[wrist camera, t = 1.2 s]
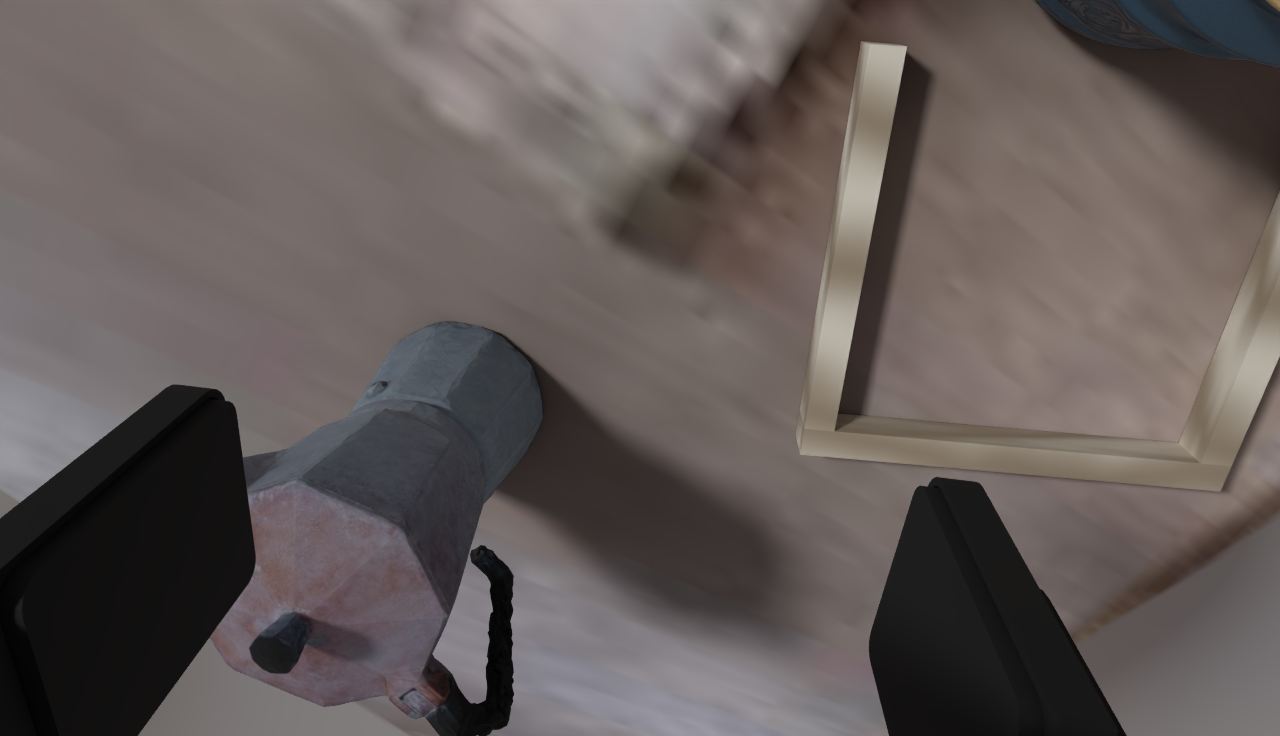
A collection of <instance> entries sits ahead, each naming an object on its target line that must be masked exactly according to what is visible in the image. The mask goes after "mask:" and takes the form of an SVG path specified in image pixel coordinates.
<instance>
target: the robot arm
mask: <svg viewBox="0 0 1280 736" xmlns="http://www.w3.org/2000/svg"><path fill="white" fill-rule="evenodd" d="M255 564H256V553H255V545H254V538H253V531H252V523H251V516H250V509H249V501H248V494H247V486H246V479H245V472H244V464H243V457H242V450H241V442H240V435H239V428H238V420H237V413H236V409H235V407H234V405H233V403H231V402H229V401H225V399H224V396H223V395H222V393H221V392H220V391H218V390H217V389H210V388H201V387H193V386H185V385H171V386H169V387H167V388H166V389H164V390H163V391H162V392H160V393H159V394H158V395H157V396H155V397H154V398H153V399H152V400H150V401H149V402H148V403H146V404H145V405H144V406H143V407H141V408H140V409H139V410H138V411H136V412H135V413H134V414H132V415H131V416H130V417H129V418H127V419H126V420H125V421H124V422H122V423H121V424H120V425H118V426H117V427H116V428H115V429H113V430H112V431H111V432H110V433H108V434H107V435H106V436H105V437H103V438H102V439H101V440H99V441H98V442H97V443H96V444H94V445H93V446H92V447H91V448H89V449H88V450H87V451H85V452H84V453H83V454H82V455H80V456H79V457H78V458H77V459H75V460H74V461H73V462H71V463H70V464H69V465H68V466H66V467H65V468H64V469H63V470H61V471H60V472H59V473H57V474H56V475H55V476H54V477H52V478H51V479H50V480H49V481H47V482H46V483H45V484H43V485H42V486H41V487H40V488H38V489H37V490H36V491H35V492H33V493H32V494H31V495H29V496H28V497H27V498H26V499H24V500H23V501H22V502H21V503H19V504H18V505H17V506H15V507H14V508H13V509H12V510H11V511H9V512H8V513H7V514H5V515H4V516H3V517H2V518H1V519H0V736H138V735H139V733H140V732H141V730H142V729H143V728H144V726H145V725H146V724H147V722H148V721H149V719H150V718H151V717H152V715H153V714H154V712H155V711H156V710H157V708H158V707H159V706H160V704H161V703H162V702H163V700H164V699H165V697H166V696H167V695H168V693H169V692H170V691H171V689H172V688H173V687H174V685H175V684H176V682H177V681H178V680H179V678H180V677H181V676H182V674H183V673H184V671H185V670H186V669H187V667H188V666H189V664H190V663H191V662H192V661H193V659H194V658H195V656H196V655H197V653H198V652H199V651H200V650H201V648H202V647H203V645H204V644H205V643H206V641H207V640H208V639H209V637H210V636H211V635H212V633H213V632H214V630H215V629H216V628H217V626H218V625H219V624H220V622H221V621H222V619H223V618H224V617H225V615H226V614H227V613H228V611H229V610H230V608H231V607H232V606H233V604H234V603H235V602H236V600H237V599H238V598H239V596H240V595H241V593H242V592H243V591H244V589H245V588H246V587H247V585H248V584H249V582H250V580H251V578H252V576H253V573H254V569H255ZM869 657H870V662H871V666H872V670H873V674H874V678H875V682H876V686H877V690H878V694H879V698H880V702H881V705H882V709H883V713H884V717H885V721H886V725H887V729H888V733H889V736H1126V734H1125V732H1124V730H1123V729H1122V727H1121V725H1120V723H1119V722H1118V720H1117V718H1116V716H1115V714H1114V713H1113V711H1112V709H1111V707H1110V706H1109V704H1108V702H1107V700H1106V698H1105V697H1104V695H1103V693H1102V691H1101V690H1100V688H1099V686H1098V684H1097V683H1096V681H1095V679H1094V677H1093V675H1092V674H1091V672H1090V670H1089V668H1088V667H1087V665H1086V663H1085V661H1084V659H1083V658H1082V656H1081V654H1080V652H1079V651H1078V649H1077V647H1076V645H1075V644H1074V642H1073V640H1072V638H1071V636H1070V635H1069V633H1068V631H1067V629H1066V628H1065V626H1064V624H1063V622H1062V621H1061V619H1060V617H1059V615H1058V613H1057V612H1056V610H1055V608H1054V606H1053V605H1052V603H1051V601H1050V599H1049V598H1048V597H1047V595H1046V594H1045V593H1044V592H1043V590H1041V589H1039V587H1038V585H1037V583H1036V582H1035V580H1034V578H1033V576H1032V574H1031V573H1030V571H1029V569H1028V567H1027V565H1026V564H1025V562H1024V560H1023V558H1022V556H1021V555H1020V553H1019V551H1018V549H1017V547H1016V546H1015V544H1014V542H1013V540H1012V539H1011V537H1010V535H1009V533H1008V531H1007V530H1006V528H1005V526H1004V524H1003V522H1002V521H1001V519H1000V517H999V515H998V513H997V512H996V510H995V508H994V506H993V505H992V503H991V501H990V499H989V497H988V496H987V494H986V492H985V490H984V488H983V487H982V486H981V484H980V483H977V482H972V481H964V480H956V479H948V478H940V477H935V478H933V479H932V480H931V482H930V483H929V485H928V487H926V486H919V487H917V489H916V490H915V492H914V494H913V497H912V501H911V504H910V507H909V510H908V514H907V517H906V520H905V523H904V526H903V530H902V533H901V536H900V539H899V543H898V546H897V549H896V552H895V556H894V559H893V562H892V565H891V569H890V572H889V575H888V578H887V581H886V585H885V588H884V591H883V594H882V598H881V601H880V604H879V607H878V611H877V614H876V617H875V620H874V624H873V627H872V630H871V634H870V640H869Z"/></svg>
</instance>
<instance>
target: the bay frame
mask: <svg viewBox="0 0 1280 736" xmlns="http://www.w3.org/2000/svg"><path fill="white" fill-rule="evenodd" d="M906 49H907V47H906V46H903V45H899V44H892V43H878V42H864V41H861V45H860V51H859V57H858V63H857V69H856V75H855V81H854V87H853V93H852V99H851V105H850V111H849V117H848V124H847V130H846V136H845V142H844V148H843V154H842V160H841V166H840V172H839V178H838V184H837V190H836V196H835V202H834V208H833V214H832V220H831V226H830V232H829V238H828V244H827V250H826V256H825V262H824V268H823V274H822V280H821V286H820V292H819V298H818V304H817V310H816V316H815V322H814V329H813V335H812V341H811V347H810V353H809V359H808V365H807V371H806V377H805V383H804V389H803V395H802V401H801V407H800V413H799V419H798V425H797V431H796V438H797V443H798V447H799V452H800V454H801V455H812V456H823V457H835V458H846V459H857V460H868V461H880V462H891V463H902V464H914V465H925V466H936V467H948V468H959V469H970V470H982V471H993V472H1004V473H1016V474H1027V475H1038V476H1050V477H1061V478H1072V479H1083V480H1095V481H1106V482H1117V483H1129V484H1140V485H1151V486H1163V487H1174V488H1185V489H1197V490H1208V491H1219V492H1220V491H1221V489H1222V487H1223V485H1224V482H1225V480H1226V478H1227V475H1228V473H1229V471H1230V469H1231V466H1232V464H1233V462H1234V459H1235V457H1236V455H1237V453H1238V450H1239V448H1240V446H1241V443H1242V441H1243V439H1244V437H1245V434H1246V432H1247V430H1248V428H1249V425H1250V423H1251V421H1252V418H1253V416H1254V414H1255V412H1256V409H1257V407H1258V405H1259V402H1260V400H1261V398H1262V396H1263V393H1264V391H1265V389H1266V386H1267V384H1268V382H1269V380H1270V377H1271V375H1272V373H1273V370H1274V368H1275V366H1276V364H1277V361H1278V359H1279V357H1280V191H1279V194H1278V196H1277V199H1276V201H1275V204H1274V206H1273V209H1272V211H1271V214H1270V216H1269V219H1268V221H1267V224H1266V226H1265V229H1264V231H1263V234H1262V236H1261V239H1260V241H1259V244H1258V246H1257V249H1256V251H1255V254H1254V256H1253V259H1252V261H1251V264H1250V266H1249V269H1248V271H1247V274H1246V276H1245V279H1244V281H1243V284H1242V286H1241V289H1240V291H1239V294H1238V296H1237V299H1236V301H1235V304H1234V306H1233V309H1232V311H1231V314H1230V316H1229V319H1228V321H1227V324H1226V326H1225V329H1224V331H1223V334H1222V336H1221V339H1220V341H1219V344H1218V346H1217V349H1216V351H1215V354H1214V356H1213V359H1212V361H1211V364H1210V366H1209V369H1208V371H1207V374H1206V376H1205V379H1204V381H1203V384H1202V386H1201V389H1200V391H1199V394H1198V396H1197V399H1196V401H1195V404H1194V406H1193V409H1192V411H1191V414H1190V416H1189V419H1188V421H1187V424H1186V426H1185V429H1184V431H1183V434H1182V436H1181V439H1180V441H1179V443H1174V442H1162V441H1151V440H1139V439H1128V438H1116V437H1104V436H1093V435H1081V434H1070V433H1058V432H1047V431H1035V430H1023V429H1012V428H1000V427H989V426H977V425H966V424H954V423H942V422H931V421H919V420H908V419H896V418H885V417H873V416H861V415H850V414H838V410H839V404H840V399H841V394H842V388H843V383H844V378H845V373H846V367H847V362H848V357H849V351H850V346H851V341H852V336H853V330H854V325H855V320H856V314H857V309H858V304H859V298H860V293H861V288H862V283H863V277H864V272H865V267H866V261H867V256H868V251H869V245H870V240H871V235H872V230H873V224H874V219H875V214H876V208H877V203H878V198H879V192H880V187H881V182H882V177H883V171H884V166H885V161H886V155H887V150H888V145H889V140H890V134H891V129H892V124H893V118H894V113H895V108H896V102H897V97H898V92H899V87H900V81H901V76H902V71H903V65H904V60H905V55H906Z"/></svg>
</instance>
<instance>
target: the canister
mask: <svg viewBox="0 0 1280 736" xmlns="http://www.w3.org/2000/svg"><path fill="white" fill-rule="evenodd" d="M1036 1H1037V2H1038V3H1039V4H1040V6H1042V7H1043V8H1044V9H1045V10H1046V11H1047V12H1048V13H1049V14H1050V15H1051V16H1053V17H1054V18H1055V19H1056V20H1057V21H1059V22H1060V23H1062V24H1063V25H1064V26H1066V27H1067V28H1069V29H1071V30H1073V31H1074V32H1076V33H1078V34H1080V35H1082V36H1084V37H1087V38H1089V39H1092V40H1095V41H1097V42H1101V43H1105V44H1109V45H1113V46H1120V47H1126V48H1132V49H1144V50H1160V49H1171V48H1176V49H1181V50H1184V51H1186V52H1189V53H1193V54H1196V55H1200V56H1204V57H1210V58H1216V59H1223V60H1237V61H1252V62H1255V63H1259V64H1263V65H1267V66H1271V67H1278V68H1280V0H1036Z"/></svg>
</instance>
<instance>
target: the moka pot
mask: <svg viewBox="0 0 1280 736" xmlns="http://www.w3.org/2000/svg"><path fill="white" fill-rule="evenodd" d="M542 419H543V404H542V398H541V394H540V389H539V385H538V381H537V378H536V375H535V371H534V369H533V367H532V366H531V364H530V363H529V362H528V361H527V359H526V358H525V357H524V356H523V355H522V354H521V353H520V352H519V351H518V350H516V349H515V348H514V347H513V346H512V345H511V344H510V343H509V342H507V341H506V340H505V338H504V337H502V336H500V335H498V334H496V333H494V332H493V331H490V330H487V329H485V328H483V327H480V326H473V325H469V324H465V323H458V322H438V323H435V324H432V325H430V326H427V327H425V328H423V329H421V330H419V331H417V332H414V333H413V334H411V335H410V336H408V337H406V338H404V339H403V340H401V341H399V342H398V343H397V344H396V345H395V346H394V348H393V349H392V350H391V352H390V353H389V355H388V356H387V357H386V359H385V360H384V362H383V364H382V365H381V367H380V369H379V370H378V372H377V373H376V375H375V376H374V378H373V379H372V381H371V382H370V384H369V385H368V387H367V388H366V390H365V392H364V393H363V394H362V396H361V397H360V399H359V400H358V401H357V403H356V405H355V406H354V408H353V410H352V412H351V413H350V414H349V415H348V416H347V417H346V418H345V419H343V420H340V421H337V422H334V423H331V424H328V425H325V426H323V427H320V428H319V429H317V430H316V431H314V432H313V433H311V434H310V435H308V436H306V437H305V438H303V439H302V440H300V441H299V442H297V443H295V444H294V445H293V446H291V447H290V448H288V449H284V450H281V451H277V452H271V453H265V454H259V455H254V456H249V457H243V464H244V472H245V479H246V486H247V494H248V501H249V509H250V516H251V523H252V531H253V538H254V545H255V553H256V564H255V569H254V573H253V576H252V578H251V580H250V582H249V584H248V585H247V587H246V588H245V589H244V591H243V592H242V593H241V595H240V596H239V598H238V599H237V600H236V602H235V603H234V604H233V606H232V607H231V608H230V610H229V611H228V613H227V614H226V615H225V617H224V618H223V619H222V621H221V622H220V624H219V625H218V626H217V628H216V629H215V630H214V632H213V633H212V635H211V636H210V639H211V640H212V642H213V644H214V645H215V647H216V649H217V650H218V652H219V653H220V654H221V656H222V658H223V659H224V661H225V662H226V663H227V664H228V665H229V666H230V667H231V668H232V669H234V670H235V671H238V672H240V673H243V674H245V675H248V676H250V677H253V678H255V679H257V680H260V681H262V682H264V683H267V684H269V685H271V686H274V687H276V688H279V689H281V690H283V691H286V692H288V693H290V694H293V695H295V696H298V697H300V698H303V699H305V700H308V701H310V702H313V703H315V704H318V705H320V706H323V707H327V706H336V705H341V704H345V703H348V702H353V701H359V700H364V699H367V698H371V697H377V696H383V695H386V696H388V698H389V700H390V701H391V702H392V703H393V704H394V705H395V706H396V707H398V708H399V709H400V710H401V711H403V712H404V713H405V714H407V715H408V716H409V717H412V718H414V719H417V718H420V717H425V718H426V719H427V720H428V722H429V723H430V724H431V725H432V727H433V728H434V729H435V730H436V732H437V733H438V734H439V735H440V736H476V735H479V736H487V735H489V734H490V733H491V731H492V730H498V729H501V728H503V727H505V726H507V724H508V721H509V716H510V711H511V705H512V703H513V696H514V692H513V688H512V684H513V682H514V680H513V678H512V676H513V673H514V671H513V662H512V659H511V658H512V646H513V642H512V629H511V623H510V620H511V617H512V614H513V607H512V603H511V600H512V597H513V591H512V587H513V577H514V576H513V574H512V572H511V571H510V569H509V567H508V566H507V565H506V564H505V563H504V562H503V561H501V560H500V559H499V558H498V557H497V556H496V555H495V553H494V552H493V551H492V550H489V549H487V548H486V546H483V545H480V546H479V547H478V548H476V549H474V550H471V553H470V557H471V561H472V563H473V564H474V565H475V566H477V567H478V568H479V569H480V570H481V571H482V572H483V573H484V574H485V575H486V576H487V577H488V579H489V581H490V583H491V587H490V595H491V601H492V606H493V612H492V613H491V615H490V621H489V632H488V635H489V638H490V643H489V647H488V653H487V657H488V663H487V666H486V680H487V695H486V700H485V701H483V702H482V703H479V704H476V703H472V704H471V703H470V702H469V701H468V700H467V699H466V698H465V697H464V695H463V694H462V692H461V691H460V689H459V688H458V686H457V684H456V681H455V679H454V677H453V675H452V674H451V673H450V672H449V670H448V669H447V668H446V667H445V666H444V665H443V664H442V663H440V662H439V661H438V660H436V659H435V658H434V656H433V654H432V653H433V651H434V649H435V647H436V645H437V643H438V641H439V639H440V637H441V635H442V632H443V630H444V628H445V626H446V623H447V621H448V618H449V616H450V613H451V610H452V608H453V605H454V602H455V599H456V596H457V593H458V589H459V586H460V582H461V579H462V576H463V572H464V569H465V566H466V562H467V558H468V554H469V551H470V547H471V544H472V541H473V538H474V534H475V531H476V527H477V524H478V521H479V517H480V514H481V511H482V507H483V504H484V503H485V502H486V501H487V500H488V499H489V498H490V497H491V496H492V494H493V493H494V491H495V490H496V488H497V487H498V486H499V485H500V484H501V482H502V481H503V480H504V479H505V478H506V476H507V475H508V474H509V473H510V472H511V471H512V470H513V469H514V467H515V466H516V465H517V464H518V462H519V461H520V460H521V458H522V457H523V456H524V455H525V453H526V451H527V449H528V448H529V446H530V445H531V443H532V441H533V439H534V437H535V435H536V433H537V431H538V429H539V427H540V424H541V422H542Z"/></svg>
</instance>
